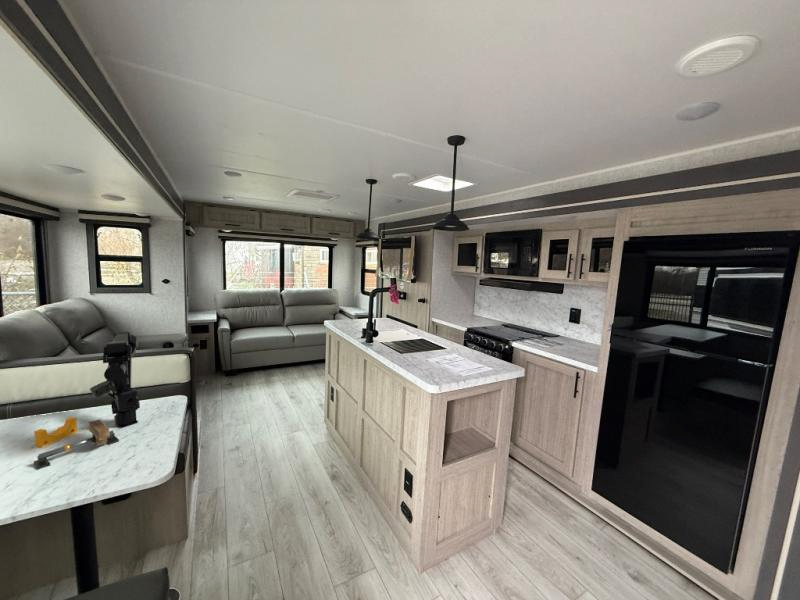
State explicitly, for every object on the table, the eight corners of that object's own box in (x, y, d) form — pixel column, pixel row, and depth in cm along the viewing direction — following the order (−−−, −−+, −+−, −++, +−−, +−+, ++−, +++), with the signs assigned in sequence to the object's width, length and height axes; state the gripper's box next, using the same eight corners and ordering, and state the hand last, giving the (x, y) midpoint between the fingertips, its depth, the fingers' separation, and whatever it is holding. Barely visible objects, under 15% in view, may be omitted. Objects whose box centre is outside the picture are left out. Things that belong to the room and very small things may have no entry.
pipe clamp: (69, 431, 135) (67, 416, 135) (77, 432, 135) (76, 417, 134) (32, 446, 123) (30, 430, 123) (41, 448, 123) (39, 432, 122)
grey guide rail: (113, 436, 132) (113, 427, 131) (119, 441, 129) (118, 431, 128) (33, 463, 113) (32, 452, 113) (37, 469, 110) (36, 458, 110)
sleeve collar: (99, 436, 130) (98, 419, 130) (110, 446, 124) (109, 428, 123) (89, 439, 128) (88, 422, 127) (100, 449, 122) (98, 431, 121)
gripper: (84, 373, 127) (86, 410, 129) (100, 384, 117) (102, 424, 119) (119, 366, 137) (121, 401, 138) (137, 376, 127) (139, 413, 128)
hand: (120, 410), depth 131 cm, fingers closed
